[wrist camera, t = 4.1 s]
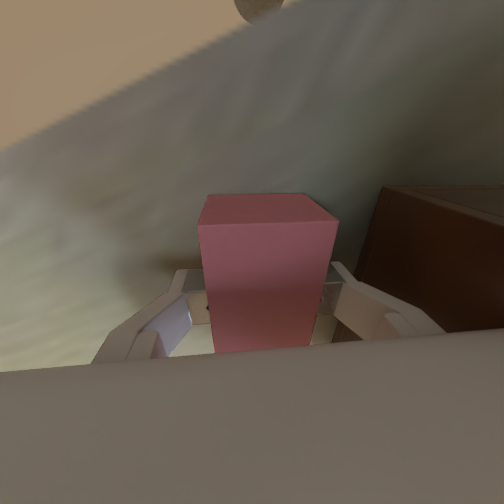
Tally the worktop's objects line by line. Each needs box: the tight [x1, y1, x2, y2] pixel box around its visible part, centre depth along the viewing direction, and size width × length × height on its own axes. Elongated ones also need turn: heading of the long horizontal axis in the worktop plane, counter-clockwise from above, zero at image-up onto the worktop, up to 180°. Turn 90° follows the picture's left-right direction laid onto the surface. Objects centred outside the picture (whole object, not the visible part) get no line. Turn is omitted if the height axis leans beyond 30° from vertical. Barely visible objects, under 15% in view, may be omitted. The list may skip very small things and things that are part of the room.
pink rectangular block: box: [197, 193, 339, 353], centre depth 9 cm, size 7×4×4 cm, turn 0°
